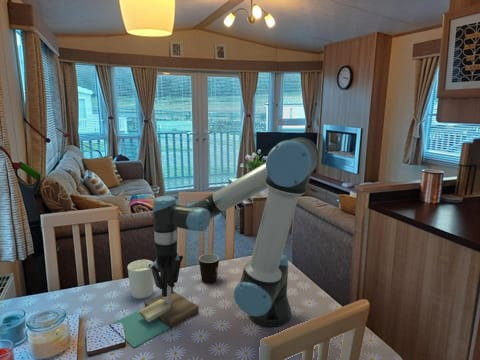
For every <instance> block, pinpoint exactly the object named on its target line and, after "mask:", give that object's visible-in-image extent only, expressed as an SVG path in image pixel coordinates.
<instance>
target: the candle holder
mask: <svg viewBox="0 0 480 360" xmlns="http://www.w3.org/2000/svg"><path fill="white" fill-rule="evenodd" d="M153 262H154V261H152V260H150V259H138V260H134V261H132V262H130V263H128V265H127V273H128V281H129V287H130V288H129V289H130V295H131V296H132V298H134V299H138V300H141V299H142V300H143V299H146V298H148V297H150V296H151V295H153V293H154V277H153V274H152V270H151V269H150V268H149V264H153Z"/></svg>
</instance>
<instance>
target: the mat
mask: <svg viewBox="0 0 480 360" xmlns="http://www.w3.org/2000/svg"><path fill="white" fill-rule="evenodd" d="M140 310H141V309H139V310H137V311H135V312H132V313H131V314H128V315H126V316H124V317H122V318H119V319H117V320H115V321H113V322H111V323H110V324H108V325H111V324H117V323H121V324H123V326H124V329H125V337H126V340H125V342H127V344H129V345H130V346H131V347H132V348H134V349H136V348H137V347H139V346H141V345H143V344H144V343H146V342H148V341H150V340H151V339H154V338H155V337H157V336H159V335H160V334H163V333H164V332H166V331H168V330H169V329H171V328H170V327H169V326H168V325H166V324H165V323H164V322H162V321H161V320H159V319H158V318H155V319H154V320H152V321H150V322H148V321H147V320H145V319H144V318H143V317H142V316H140V315H139V311H140Z"/></svg>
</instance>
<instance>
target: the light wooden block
mask: <svg viewBox="0 0 480 360" xmlns="http://www.w3.org/2000/svg"><path fill="white" fill-rule="evenodd" d="M139 310H140V311H139ZM139 310H138V311H139V315H140V316H142V317H143V318H144V319H145V320H147V321H148V322H150V321H152V320H154V319H155V318H157V317H159V316H161V315H162V314H164V313H166V312H168V311H170V310H171V305H169V304H168V303H166V302H165V301H163V300H162V299H160V300H158V301H157V302H155V303H153V304H151V305H149V306H147V307H145V306H144V308H140V309H139ZM157 319H158V318H157Z"/></svg>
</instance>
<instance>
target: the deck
mask: <svg viewBox="0 0 480 360" xmlns="http://www.w3.org/2000/svg"><path fill="white" fill-rule="evenodd" d="M171 297H172V304H170V305H171V310H170V311H168V312H166V313H164V314H162V315H161V316H159V317H157V319H159V320H160V321H161V322H163V323H164V324H165V325H167V326H168V327H169V328H170V329H171V328H173V327H175V326H177V325H178V324H181V323H182V322H184V321H186V320H188V319H189V318H191V317H193V316H195V315H197V314H199V305H197V304H195V303H194V302H192V301H191V300H189V299H187V298H185V297H184V296H182V295H180V294H179V293H178V292H176V291H174V290H173V294H171ZM160 299H162V300H163V301H164V296H162V294H160V295H158V296H155V297H154V298H150V299H149V300H147V301H145V302H143V303H144V308H145V307H147V306H149V305H151V304H153V303H155V302H157V301H158V300H160Z"/></svg>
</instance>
